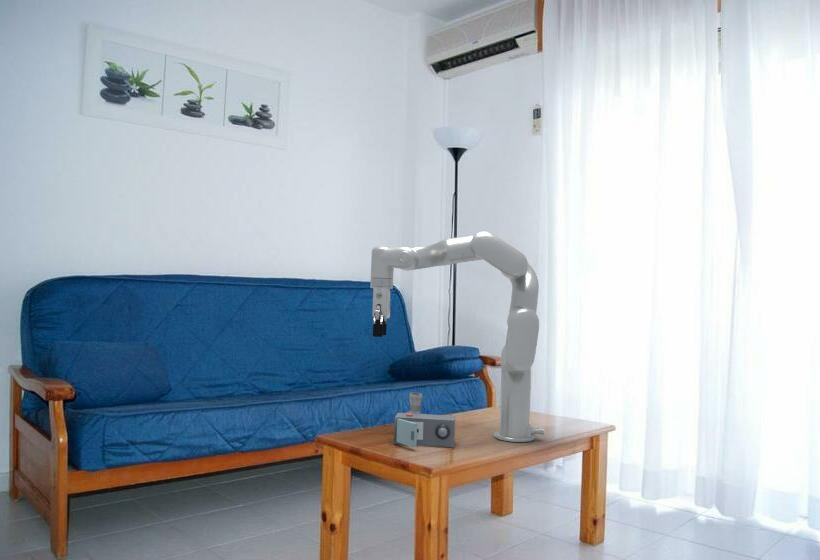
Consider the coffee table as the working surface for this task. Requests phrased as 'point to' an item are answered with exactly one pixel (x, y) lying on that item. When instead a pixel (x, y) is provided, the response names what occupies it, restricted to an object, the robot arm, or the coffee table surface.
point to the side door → (406, 432)
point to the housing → (430, 429)
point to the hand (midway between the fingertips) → (379, 335)
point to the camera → (415, 403)
